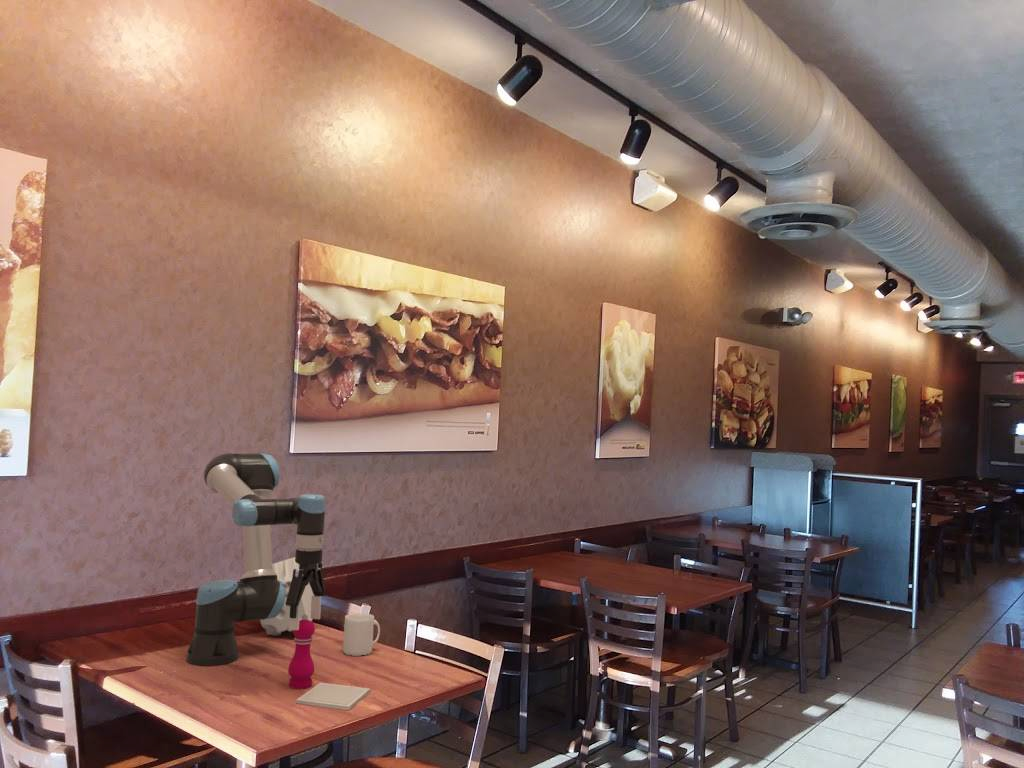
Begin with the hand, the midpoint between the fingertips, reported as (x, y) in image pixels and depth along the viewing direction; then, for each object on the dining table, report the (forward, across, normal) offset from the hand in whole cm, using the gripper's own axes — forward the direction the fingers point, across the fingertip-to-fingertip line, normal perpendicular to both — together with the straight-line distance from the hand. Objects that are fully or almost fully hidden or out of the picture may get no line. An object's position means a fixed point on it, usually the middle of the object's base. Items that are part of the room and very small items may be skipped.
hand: (304, 624), depth 229 cm
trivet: (+18, -6, -13) cm, 22 cm away
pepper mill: (+18, 0, 0) cm, 18 cm away
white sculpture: (+17, +49, +31) cm, 61 cm away
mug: (+17, +37, -3) cm, 41 cm away
